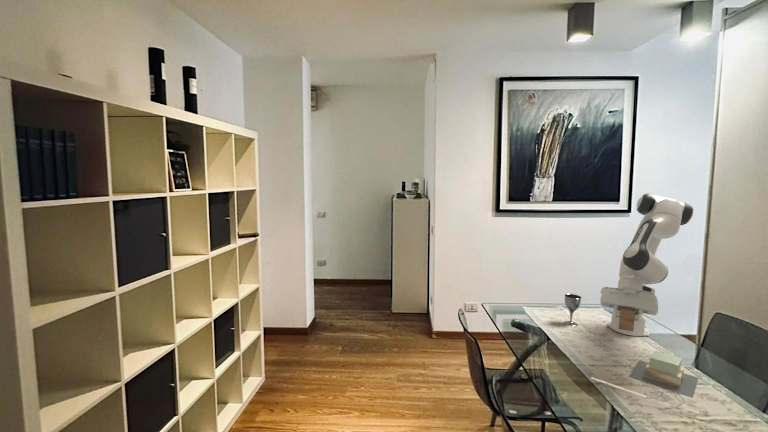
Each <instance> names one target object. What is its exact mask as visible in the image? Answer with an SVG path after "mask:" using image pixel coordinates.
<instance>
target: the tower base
mask: <svg viewBox="0 0 768 432" xmlns="http://www.w3.org/2000/svg"><path fill="white" fill-rule="evenodd" d="M649 363H650V360H648V364H647V365H646V367H645V376H644V377H647V378H650V379H653V380H656V381H659V382H662V383H665V384H668V385H671V386H675V387H678V388H679V387H680V384H681V382H682V379H683V374H684V372H685V367H683V366H681V368H680V371H679V373H678V376H676V375H673V374H670V373H666V372H663V371H660V370H657V369H653V368H650V367H649Z"/></svg>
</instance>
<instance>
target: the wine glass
mask: <svg viewBox="0 0 768 432" xmlns="http://www.w3.org/2000/svg"><path fill="white" fill-rule="evenodd" d="M581 302H582V296H580V295H578V294H574V293H565V294H564V305H565V308H566V309H567V310H568V312H569V315H570V316H569V320H564V321H563V324H564V325H567V326H571V327H577V326H578V325H579V323H577V322H575V321H572V320H573V314H574V313H575V312H576V311H577V310H579V308H580V306H581Z"/></svg>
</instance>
